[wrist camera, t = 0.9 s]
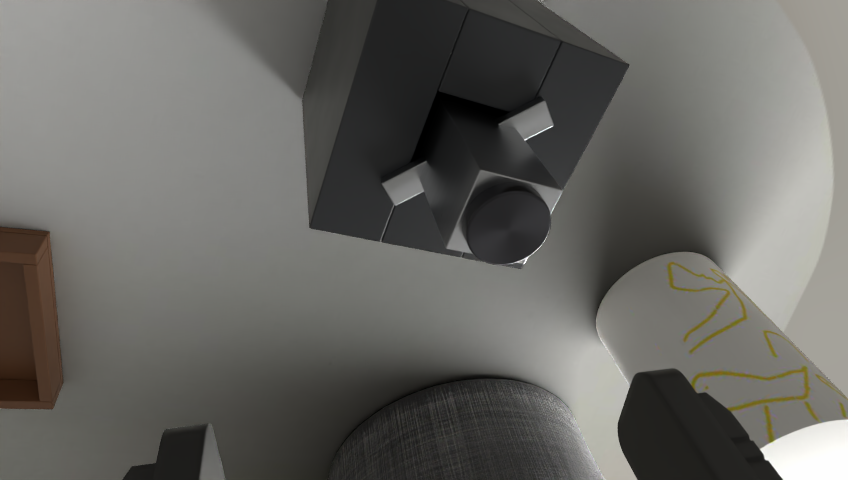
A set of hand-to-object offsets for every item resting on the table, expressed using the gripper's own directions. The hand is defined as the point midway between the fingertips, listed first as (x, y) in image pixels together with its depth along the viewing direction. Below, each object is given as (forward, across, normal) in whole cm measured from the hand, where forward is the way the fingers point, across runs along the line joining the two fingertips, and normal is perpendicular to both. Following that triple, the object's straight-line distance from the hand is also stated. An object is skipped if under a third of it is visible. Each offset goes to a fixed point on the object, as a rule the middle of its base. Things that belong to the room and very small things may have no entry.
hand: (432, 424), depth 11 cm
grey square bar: (+22, -4, +1) cm, 23 cm away
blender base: (+28, -4, +1) cm, 28 cm away
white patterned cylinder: (+28, -27, +24) cm, 45 cm away
